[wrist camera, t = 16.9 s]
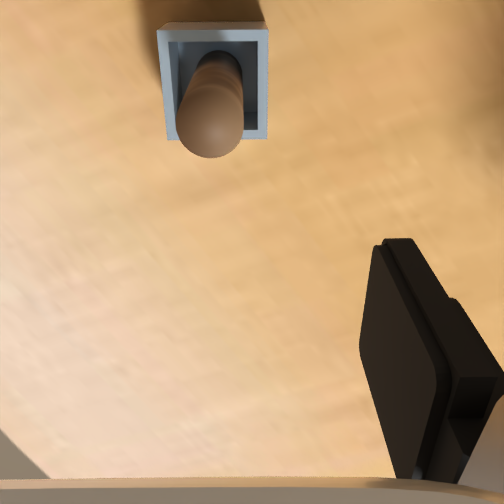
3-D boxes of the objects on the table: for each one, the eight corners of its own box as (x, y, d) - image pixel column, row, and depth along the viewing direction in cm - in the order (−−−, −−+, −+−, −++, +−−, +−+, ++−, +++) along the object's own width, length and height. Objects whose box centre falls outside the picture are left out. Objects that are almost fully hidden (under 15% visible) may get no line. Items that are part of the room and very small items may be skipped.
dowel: (242, 50, 32) (243, 90, 21) (242, 98, 33) (244, 157, 23) (194, 50, 32) (172, 90, 21) (197, 99, 33) (178, 158, 23)
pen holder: (264, 117, 35) (267, 139, 30) (177, 118, 35) (167, 140, 30) (265, 21, 31) (268, 29, 27) (168, 21, 31) (156, 30, 27)
